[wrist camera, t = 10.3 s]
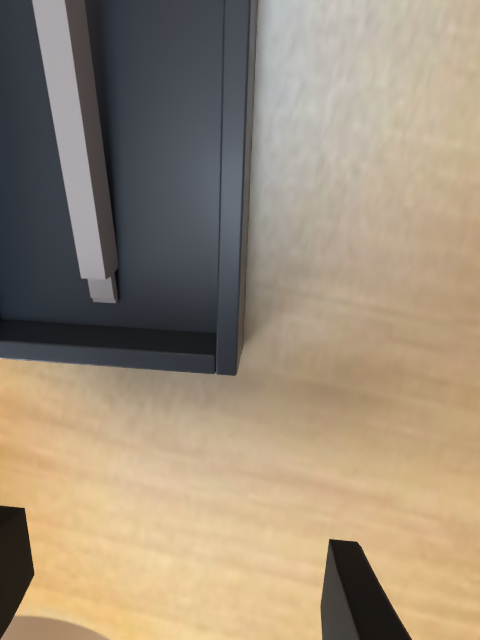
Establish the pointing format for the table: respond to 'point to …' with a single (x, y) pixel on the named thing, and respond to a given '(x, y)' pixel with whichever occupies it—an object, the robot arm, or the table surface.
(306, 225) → the table surface
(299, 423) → the table surface
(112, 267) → the caliper
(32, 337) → the tray
